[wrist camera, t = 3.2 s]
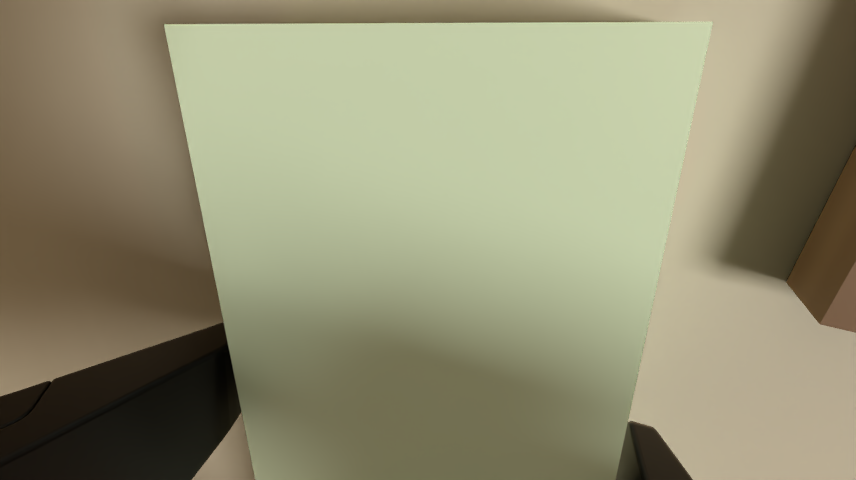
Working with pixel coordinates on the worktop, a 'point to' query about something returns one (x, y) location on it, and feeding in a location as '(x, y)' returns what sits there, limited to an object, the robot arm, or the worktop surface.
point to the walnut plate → (831, 258)
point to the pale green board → (437, 235)
